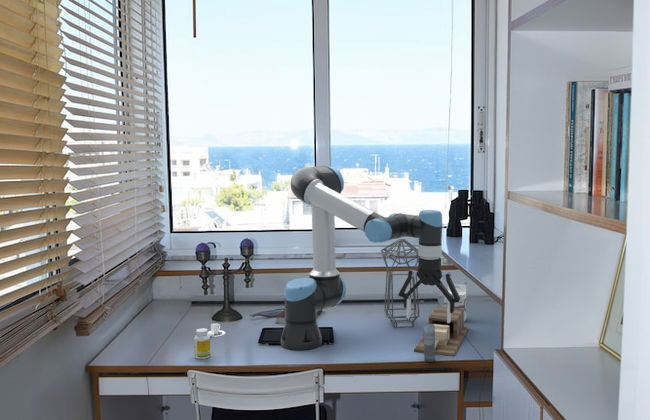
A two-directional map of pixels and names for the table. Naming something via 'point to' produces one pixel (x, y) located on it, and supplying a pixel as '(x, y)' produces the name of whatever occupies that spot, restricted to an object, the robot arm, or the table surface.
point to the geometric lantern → (399, 274)
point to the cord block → (434, 339)
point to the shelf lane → (455, 330)
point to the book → (281, 317)
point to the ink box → (463, 298)
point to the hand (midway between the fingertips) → (428, 319)
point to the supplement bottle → (202, 344)
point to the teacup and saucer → (215, 330)
